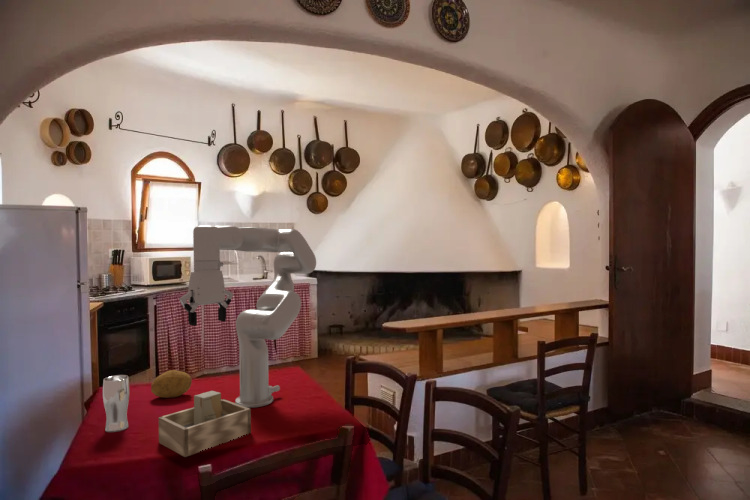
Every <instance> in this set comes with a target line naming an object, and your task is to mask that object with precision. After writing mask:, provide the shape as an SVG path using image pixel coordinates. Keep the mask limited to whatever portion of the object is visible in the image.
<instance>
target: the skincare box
mask: <svg viewBox="0 0 750 500" xmlns="http://www.w3.org/2000/svg"><path fill="white" fill-rule="evenodd" d="M221 399H222V393H221V392H219V391H215V390H210V391H206V392H201V393H200V394H195V395H193V407H194V425H197V424H200V423H203V422H206V421H209V420H213V419H216V418H219V417H221Z"/></svg>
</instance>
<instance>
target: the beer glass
mask: <svg viewBox="0 0 750 500" xmlns="http://www.w3.org/2000/svg"><path fill="white" fill-rule="evenodd" d="M102 382H103V383H102V399H103V400H102V401H103V407H104V409H105V414H106V415H105V416H106V421H105V428H104V429H105V432H106V433H117V432H122V431H125V430H126V429H128V428H129V421H128V415H127V414H128V408H129V407H128V406H129V401H130V381H129V376H128V375H126V374H117V375H111V376H108V377H107V376H106V377H105V378H103V381H102Z"/></svg>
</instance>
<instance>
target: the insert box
mask: <svg viewBox="0 0 750 500" xmlns="http://www.w3.org/2000/svg"><path fill="white" fill-rule="evenodd" d="M251 411H252V409H251V408H247V407H244V406H241V405H238V404H236V403H235V402H232V401H230V400H227V399H225V398H224V399H223V398H221V417H219V418H216V419H213V420H209V421H206V422H203V423H200V424H197V425H194V406H193V407H190V408H186V409H183V410H179V411H176V412H173V413H172V412H171V413H169V414H166V415H161V416H159V417H158V443H159V445H162V446H164V447H166V448H167V449H169V450H170V451H171V450H172V451H173V452H174V453H177V454H178V455H180V456H182V457H184V458H187V457H189V456H193V455H195V454H197V453H198V454H199V453H200V451H201V452H203V451H206V450H208V448H209V449H212V448H214V447H217V446H219V444H220V445H222V443H223V444H225V443H229V442H230V440H231V441H234V440H237V439H239V438H242V437H244V436H243V435H245V436H247V435H249V433H250V434H251V433H252V422H251V421H252V417H251V416H252V414H251ZM246 434H247V435H246ZM241 436H242V437H241ZM238 437H239V438H238ZM233 439H234V440H233ZM211 447H212V448H211ZM205 449H206V450H205ZM202 450H203V451H202Z"/></svg>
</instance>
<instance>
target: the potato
mask: <svg viewBox="0 0 750 500" xmlns="http://www.w3.org/2000/svg"><path fill="white" fill-rule="evenodd" d="M192 383H193V380H192V377H191V376H190V374H188V373H187V372H185V371H180V370H176V369H171V370H167V371H165V372H163V373H161V374H160V375H157V376H156V377H155V378H154V379H153V381H152V383H151V384H150V386H151V387H150V388H151V393H152V394H153V395H154V396H156V397H158V398H162V399H163V398H166V399H167V398H170V399H173V398H178V397H180V396H183V395H184V394H186V393H187V392H188V391H189V389H190V388H191V386H192Z"/></svg>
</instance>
